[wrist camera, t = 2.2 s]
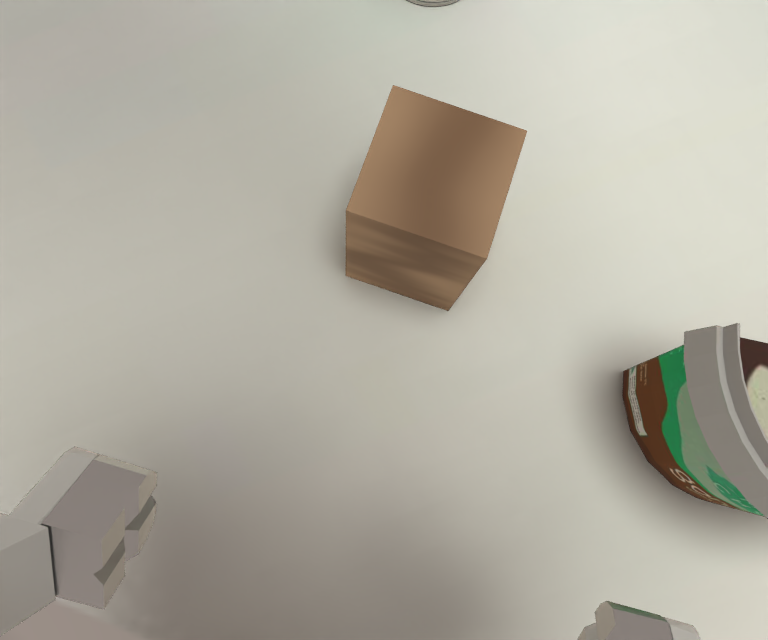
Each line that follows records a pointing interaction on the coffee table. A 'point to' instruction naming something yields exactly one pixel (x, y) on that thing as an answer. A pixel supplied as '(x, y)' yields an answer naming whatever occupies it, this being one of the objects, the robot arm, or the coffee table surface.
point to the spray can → (433, 2)
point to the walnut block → (429, 198)
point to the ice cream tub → (706, 416)
